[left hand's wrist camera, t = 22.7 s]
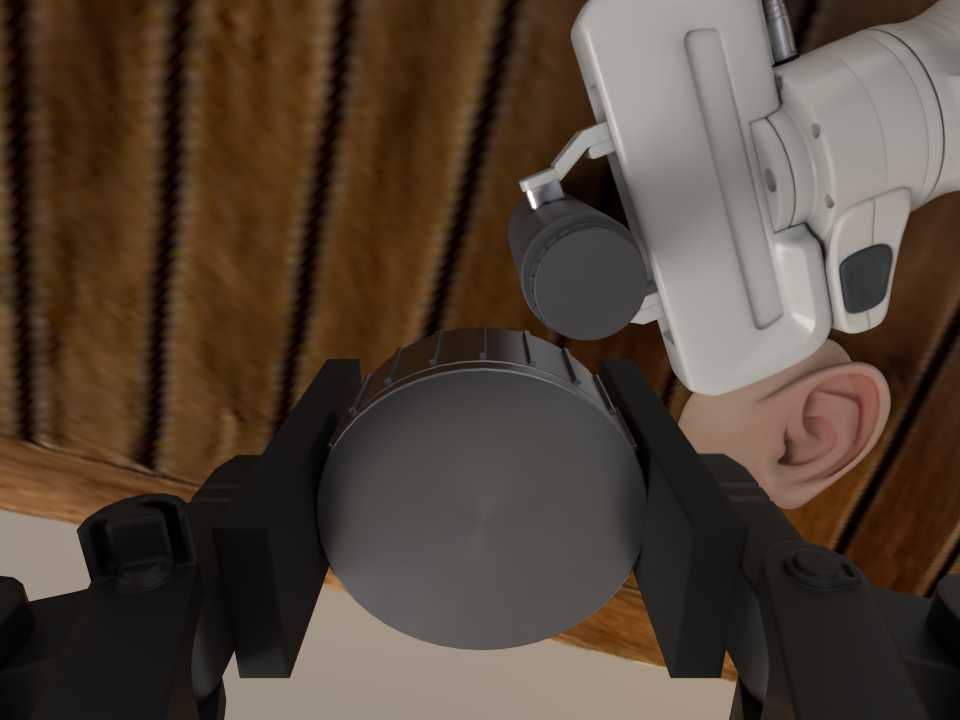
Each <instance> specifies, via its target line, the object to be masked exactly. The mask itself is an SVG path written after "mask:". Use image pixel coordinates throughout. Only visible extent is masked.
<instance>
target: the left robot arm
mask: <svg viewBox="0 0 960 720" xmlns="http://www.w3.org/2000/svg"><path fill="white" fill-rule="evenodd" d="M600 380H601V382H602V384H603V386H604V388H605V390H606V392H607V394H608V396H609V398H610V400H611V402H612V404H613V406H614V407H617V408H618V410H619V411H620V413H621V415H622V417H623V419H624V421H625V423H626V425H627V427H628V429H629V431H630V433H631V435H632V437H633V439H634V441H635V443H636V445H637V447H638V450H637V451H635V453H636V455H637V458H638V460H639V462H640V465H641V467H642V469H643V473H644V477H645V481H646V485H647V491H648V500H647V510H646V519H645V528H644V536H643V544H642V549H641V552H640V555H639V557H638V560H637V562H636V564H635V565H634V567H633V569H632V570H633V573H634V575H635V578H636V581H637V584H638V587H639V590H640V592H641V595H642V598H643V601H644V604H645V607H646V609H647V612H648V615H649V618H650V621H651V624H652V627H653V629H654V632H655V635H656V638H657V641H658V644H659V646H660V649H661V652H662V655H663V658H664V661H665V663H666V666H667V669H668V672H669V675H670V677H671V678H721V673H722V667H723V662H724V657H725V652H726V649H727V651H728V653H729V655H730V657H731V659H732V661H733V663H734V666H735V668H736V670H737V672H738V679H737V684H736V688H735V693H734V698H733V703H732V708H731V713H730V718H729V720H960V574H951V575H947V576H946V577H944V578H943V579H941V580H940V581H939V582H938V584H937V587H936V590H935V593H934V596H933V599H928V598H924V597H919V596H914V595H910V594H905V593H900V592H895V591H891V590H886V589H882V588H878V587H875V586H871V584H870V582H869V580H868V579H867V577H866V576H865V575H864V573H863V572H862V571H861V569H860V568H859V567H858V566H856V565H855V564H854V563H852V562H851V561H850V560H848V559H847V558H846V557H844V556H843V555H840V554H838V553H836V552H834V551H832V550H830V549H828V548H826V547H823V546H819V545H815V544H812V543H808V542H806V541H805V540H804V539H803V538H802V536H801V535H800V534H799V533H798V531H797V530H796V529H795V528H794V527H793V525H792V524H791V523H790V522H789V520H788V519H787V518H786V517H785V515H784V514H783V513H782V512H781V510H780V509H779V508H778V507H777V505H776V504H775V503H774V502H773V500H770V497H769V496H768V494H767V493H766V492H765V491H764V489H763V488H762V487H759V483H758V482H757V481H756V479H755V478H754V477H753V476H752V474H751V473H750V472H749V471H748V470H747V468H746V467H744V466H743V465H741V464H740V463H738V462H737V461H735V460H733V459H732V458H730V457H729V456H727V455H726V454H724V453H697V452H696V450H695V449H694V447H693V446H692V445H691V443H690V442H689V440H688V439H687V437H686V436H685V434H684V433H683V431H682V430H681V429H680V427H679V426H678V424H677V423H676V421H675V420H674V418H673V417H672V416H671V414H670V413H669V411H668V410H667V408H666V407H665V405H664V404H663V402H662V401H661V400H660V398H659V397H658V395H657V394H656V392H655V391H654V389H653V388H652V387H651V385H650V384H649V382H648V381H647V379H646V378H645V376H644V375H643V373H642V372H641V371H640V369H639V368H638V366H637V365H636V363H635V362H634V360H633V359H601V367H600ZM360 387H361V375H360V362H359V359H328V360H327V361H326V362H325V364H324V365H323V367H322V368H321V370H320V371H319V373H318V374H317V375H316V377H315V378H314V380H313V381H312V383H311V384H310V386H309V387H308V389H307V390H306V391H305V393H304V394H303V396H302V397H301V399H300V400H299V402H298V403H297V404H296V406H295V407H294V409H293V410H292V412H291V413H290V415H289V416H288V418H287V419H286V420H285V422H284V423H283V425H282V426H281V428H280V429H279V431H278V432H277V433H276V435H275V436H274V438H273V439H272V441H271V442H270V444H269V445H268V447H267V448H266V449H265V451H264V452H263V454H262V455H237V456H235V457H233V458H232V459H230V460H229V461H227V462H226V463H224V464H222V465H221V466H219V467H218V468H216V469H215V470H214V471H213V472H212V474H211V475H210V476H209V477H208V479H207V480H206V481H205V482H204V484H203V485H202V489H199V490H198V491H197V492H196V494H195V495H194V496H193V497H192V499H191V502H188V504H187V503H186V502H185V501H183V500H182V499H181V498H180V497H178V496H174V495H169V494H164V493H159V494H143V495H139V496H135V497H131V498H126V499H123V500H120V501H118V502H115V503H113V504H111V505H108V506H106V507H103V508H102V509H100V510H99V511H97V512H96V513H94V514H93V515H91V516H90V517H88V518H87V519H86V520H85V521H84V522H83V523H82V524H81V526H80V527H79V528H78V529H77V534H78V537H79V541H80V544H81V548H82V551H83V554H84V558H85V561H86V565H87V569H88V572H89V576H90V579H91V583H90V585H89V588H88V589H85V590H81V591H77V592H73V593H68V594H63V595H59V596H54V597H49V598H44V599H39V600H35V601H30V602H29V601H28V598H27V595H26V592H25V589H24V586H23V584H22V583H21V582H19V581H18V580H16V579H15V578H14V577H5V576H0V720H224V716H225V708H226V695H225V689H224V684H223V679H222V676H223V674H224V671H225V669H226V667H227V665H228V663H229V661H230V659H231V657H232V655H233V653H234V651H235V655H236V660H237V665H238V671H239V676H240V678H290V676H291V673H292V670H293V667H294V664H295V662H296V659H297V656H298V653H299V650H300V647H301V645H302V642H303V639H304V636H305V633H306V630H307V628H308V625H309V622H310V619H311V616H312V613H313V611H314V608H315V605H316V602H317V599H318V596H319V593H320V591H321V588H322V585H323V582H324V579H325V576H326V574H327V571H328V568H329V563H328V561H327V559H326V557H325V554H324V551H323V548H322V545H321V542H320V539H319V534H318V529H317V523H316V495H317V488H318V482H319V479H320V475H321V472H322V469H323V465H324V463H325V461H326V459H327V457H328V455H329V453H330V451H331V450H328V449H326V448H327V445H328V443H329V441H330V439H331V437H332V435H333V433H334V431H335V429H336V427H337V425H338V423H339V421H340V419H341V417H342V415H343V413H344V411H345V409H346V407H347V406H350V407H351V406H352V404H353V402H354V400H355V397H356V395H357V393H358V391H359V389H360Z"/></svg>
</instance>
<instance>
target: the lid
mask: <svg viewBox="0 0 960 720" xmlns="http://www.w3.org/2000/svg"><path fill="white" fill-rule="evenodd" d="M326 449H328V450H331V451H330V453H329V455H328V457H327V459H326V461H325V463H324V465H323V469H322V472H321V475H320V479H319V482H318V488H317V495H316V523H317V529H318V534H319V539H320V542H321V545H322V548H323V551H324V554H325V557H326V559H327V561H328V563H329V565H330V567H331V569H332V571H333V573H334V574H335V576H336V577H337V579H338V580H339V581H340V583H341V584H342V586H343V587H344V588H345V590H346V591H347V592H348V593H349V594H350V595H351V596H352V597H353V598H354V600H355V601H356V602H357V603H359V604H360V605H361V606H362V607H363V608H364V609H366V610H367V611H368V612H369V613H370V614H372V615H373V616H375V617H376V618H378V619H379V620H381V621H382V622H383V623H385V624H386V625H388V626H390V627H392V628H394V629H396V630H398V631H400V632H402V633H404V634H406V635H409V636H412V637H414V638H417V639H419V640H422V641H426V642H429V643H433V644H437V645H440V646H446V647H452V648H459V649H472V650H491V649H504V648H512V647H519V646H523V645H527V644H531V643H535V642H539V641H542V640H544V639H547V638H550V637H553V636H556V635H558V634H560V633H562V632H564V631H566V630H568V629H570V628H572V627H574V626H576V625H577V624H579V623H580V622H582V621H584V620H585V619H587V618H588V617H590V616H591V615H592V614H594V613H595V612H596V611H597V610H599V609H600V608H601V607H602V606H604V605H605V604H606V603H607V602H608V601H609V600H610V598H611V597H612V596H613V595H614V594H615V593H616V592H617V591H618V590H619V589H620V587H621V586H622V584H623V583H624V582H625V580H626V579H627V578H628V576H629V575H630V573H631V571H632V569H633V567H634V565H635V564H636V562H637V560H638V557H639V555H640V552H641V549H642V544H643V536H644V528H645V519H646V510H647V500H648V491H647V485H646V481H645V477H644V473H643V469H642V467H641V465H640V462H639V460H638V458H637V455H636V453H635V451H637V450H638V447H637V445H636V443H635V441H634V439H633V437H632V435H631V433H630V431H629V429H628V427H627V425H626V423H625V421H624V419H623V417H622V415H621V413H620V411H619V410H618V408H617V407H614V406H613V404H612V402H611V400H610V398H609V396H608V394H607V392H606V390H605V388H604V386H603V384H602V382H601V380H600V378H599V377H598V375H597V374H595V375H592V374H591V373H590V372H589V371H588V370H587V369H586V368H585V367H584V366H583V365H582V364H581V363H579V362H578V361H577V360H576V359H575V358H574V357H572V356H571V355H570V353H569V350H568V349H566V348H565V347H564V348H563V349H560V348H559V347H557V346H555V345H553V344H551V343H549V342H547V341H545V340H543V339H540V338H537V337H534V336H531V335H530V333H529V331H525V330H524V332H523V333H522V332H517V331H513V330H508V329H501V328H488V327H485V325H480V327H479V328H463V329H457V330H451V331H446V332H442V331H441V330H439V331H436V333H435V335H432V336H429V337H426V338H424V339H422V340H420V341H417V342H415V343H413V344H411V345H409V346H407V347H406V348H404V349H402V347H399V348H398V349H397V350H396V352H395V354H394V355H393V356H392V357H390V358H389V359H388V360H387V361H386V362H384V363H383V364H382V365H381V366H380V367H379V368H378V369H377V370H376V371H375V372H374V373H373V374H372V375H371V374H370V373H368V374H367V375H366V377H365V379H364V381H363V383H362V385H361V387H360V389H359V391H358V393H357V395H356V397H355V400H354V402H353V404H352V406H351V407H350V406H347V407H346V409H345V411H344V413H343V415H342V417H341V419H340V421H339V423H338V425H337V427H336V429H335V431H334V433H333V435H332V437H331V439H330V441H329V443H328V445H327V448H326Z"/></svg>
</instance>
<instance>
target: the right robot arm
mask: <svg viewBox="0 0 960 720" xmlns="http://www.w3.org/2000/svg"><path fill="white" fill-rule="evenodd" d="M785 7H786V5H785V2H784V0H589V1H587V2H586V4H585V5H584V6H583V8H582V9H581V11H580V13H579V15H578V17H577V19H576V21H575V23H574V26H573V28H572V30H571V40H572V44H573V47H574V50H575V54H576V57H577V60H578V63H579V67H580V70H581V73H582V76H583V80H584V83H585V86H586V89H587V93H588V96H589V99H590V102H591V106H592V109H593V112H594V115H595V119H596V122H597V124H594V125H592V126H590V127H587V128H585V129H583V130H580V131H578V132H576V133H575V134H574V135H573V136H572V138H571V139H570V140H569V142H568V143H567V144H566V145H565V147H564V148H563V149H562V150H561V152H560V153H559V154H558V156H557V157H556V158H555V159H554V161H553V162H552V163H551V167H550V168H548V169H545V170H543V171H540V172H538V173H535V174H533V175H531V176H528V177H526V178H524V179H522V180H520V181H519V184H520V187H521V189H522V192H523V195H524V197H525V200H526V203H527V205H528V208H529V210H534V209H538V208H540V207H542V206H544V204H545V203H546V201H547V202H555V201H557V200H560V199H562V198H565V197H564V194H563V191H562V188H561V185H560V181H561V180H562V179H563V177H564V176H565V175H566V174H567V173H568V171H569V170H570V169H571V168H572V166H573V165H574V164H575V163H576V162H577V160H578V159H579V158H580V157H581V155H582V154H583V155H584V157H585V158H588V159H596V158H599V157H601V156H604V155H607V158H608V161H609V164H610V168H611V171H612V174H613V177H614V181H615V184H616V187H617V190H618V194H619V197H620V200H621V203H622V207H623V210H624V213H625V216H626V220H627V223H628V226H629V229H630V233H631V234H632V236H633V237H634V238H635V240H636V242H637V244H638V246H639V248H640V251H641V254H642V258H643V261H644V264H645V267H646V271H647V291H646V295H645V299H644V302H643V304H642V306H641V308H640V310H639V311H638V313H637V315H636V316H635V317H634V318H633V319H632V321H631V322H632V323H638V324H645V323H648V322H651V321H654V320H656V319H657V320H658V324H659V327H660V330H661V333H662V337H663V340H664V343H665V346H666V350H667V353H668V356H669V359H670V363H671V366H672V369H673V371H674V373H675V374H676V375H677V377H678V378H679V379H680V381H681V382H682V383H683V384H684V385H685V386H686V387H687V388H688V389H689V390H690V391H692V392H695V393H699V394H703V395H707V396H718V395H722V394H726V393H729V392H732V391H735V390H737V389H740V388H743V387H745V386H748V385H751V384H753V383H756V382H758V381H761V380H763V379H766V378H768V377H770V376H772V375H775V374H777V373H779V372H781V371H784V370H786V369H788V368H790V367H792V366H794V365H796V364H798V363H800V362H802V361H804V360H805V359H807V358H808V357H810V356H811V355H812V354H814V353H815V352H816V351H817V350H818V349H819V348H820V347H821V346H822V345H823V344H824V342H825V341H826V339H827V337H828V335H829V333H830V329H831V327H832V328H834V329H837V330H840V331H843V332H846V333H859V332H863V331H866V330H869V329H872V328H874V327H876V326H877V325H879V324H880V323H881V322H882V321H883V319H884V318H885V316H886V313H887V310H888V305H889V300H890V294H891V288H892V282H893V277H894V271H895V266H896V261H897V257H898V252H899V248H900V244H901V240H902V237H903V233H904V230H905V227H906V223H907V220H908V217H909V214H910V212H912V211H914V210H916V209H918V208H919V207H921V206H923V205H924V204H926V203H927V202H929V201H931V200H932V199H934V198H936V197H938V196H941V195H943V194H946V193H949V192H953V191H960V0H939V1H938V2H936V3H935V4H934V5H932V6H931V7H930V8H928V9H927V10H926V11H924V12H923V13H922V14H920V15H918V16H917V17H915V18H913V19H911V20H908V21H905V22H901V23H895V24H884V25H878V26H874V27H870V28H867V29H863V30H861V31H858V32H856V33H854V34H852V35H849V36H847V37H844V38H842V39H839V40H837V41H834V42H832V43H830V44H827V45H825V46H822V47H820V48H818V49H815V50H813V51H810V52H808V53H805V54H803V55H797V50H796V44H795V40H794V35H793V30H792V25H791V21H790V17H789V14H788V10H787V8H785ZM772 66H773V67H772Z"/></svg>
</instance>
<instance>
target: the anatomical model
mask: <svg viewBox="0 0 960 720" xmlns="http://www.w3.org/2000/svg"><path fill="white" fill-rule="evenodd" d="M890 404H891V401H890V392H889V388H888V385H887V382H886V380H885V378H884V376H883V375H882V373H881V372H880V371H879V370H878V369H877V368H875V367H874V366H872V365H870V364H868V363H863V362H852V361H851V359H850V358H849V356H848V354H847V353H846V352H845V350H844V349H843V348H842V347H841V346H840V345H839V344H838V343H836V342H834V341H833V340H830V339H826V341H825V342H824V344H823V345H822V346H821V347H820V348H819V349H818V350H817V351H816V352H815V353H814V354H812V355H811V356H810V357H808V358H807V359H805V360H804V361H802V362H800V363H798V364H796V365H794V366H792V367H790V368H788V369H786V370H784V371H781V372H779V373H777V374H775V375H772V376H770V377H768V378H766V379H763V380H761V381H758V382H756V383H753V384H751V385H748V386H745V387H743V388H740V389H737V390H735V391H732V392H729V393H726V394H722V395H718V396H707V395H703V394H699V393H695V392H694V393H693V394H692V396H691V397H690V399H689V400H688V401H687V403H686V405H685V407H684V409H683V412H682V414H681V417H680V420H679V423H678V426H679V427H680V429H681V430H682V431H683V433H684V434H685V436H686V437H687V439H688V440H689V442H690V443H691V445H692V446H693V447H694V449H695V450H696V452H697V453H724V454H726V455H727V456H729V457H730V458H732V459H733V460H735V461H737V462H738V463H740V464H741V465H743V466H744V467H746V468H747V470H748V471H749V472H750V473H751V474H752V476H753V477H754V478H755V479H756V481H757V482H758V483H759V487H762V488H763V489H764V491H765V492H766V493H767V494H768V496H769V497H770V500H773V502H774V503H775V504H776V505H777V506H779V507H781V508H785V509H794V508H798V507H800V506H802V505H803V504H805V503H807V502H808V501H809V500H811V499H812V498H813V497H815V496H816V495H818V494H819V493H820V492H822V491H823V490H824V489H826V488H827V487H828V486H830V485H831V484H832V483H834V482H835V481H836V480H838V479H839V478H840V477H842V476H843V475H844V474H846V473H847V472H848V471H850V470H851V469H852V468H853V467H854V466H856V465H857V464H858V463H859V462H860V461H861V460H862V459H863V458H864V457H865V456H866V455H867V454H868V453H869V452H870V450H871V449H872V448H873V446H874V445H875V444H876V442H877V441H878V439H879V437H880V435H881V433H882V431H883V429H884V427H885V424H886V422H887V419H888V416H889V412H890Z"/></svg>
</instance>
